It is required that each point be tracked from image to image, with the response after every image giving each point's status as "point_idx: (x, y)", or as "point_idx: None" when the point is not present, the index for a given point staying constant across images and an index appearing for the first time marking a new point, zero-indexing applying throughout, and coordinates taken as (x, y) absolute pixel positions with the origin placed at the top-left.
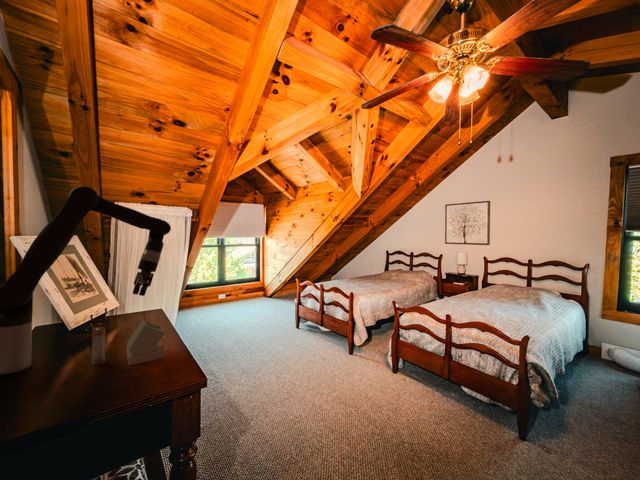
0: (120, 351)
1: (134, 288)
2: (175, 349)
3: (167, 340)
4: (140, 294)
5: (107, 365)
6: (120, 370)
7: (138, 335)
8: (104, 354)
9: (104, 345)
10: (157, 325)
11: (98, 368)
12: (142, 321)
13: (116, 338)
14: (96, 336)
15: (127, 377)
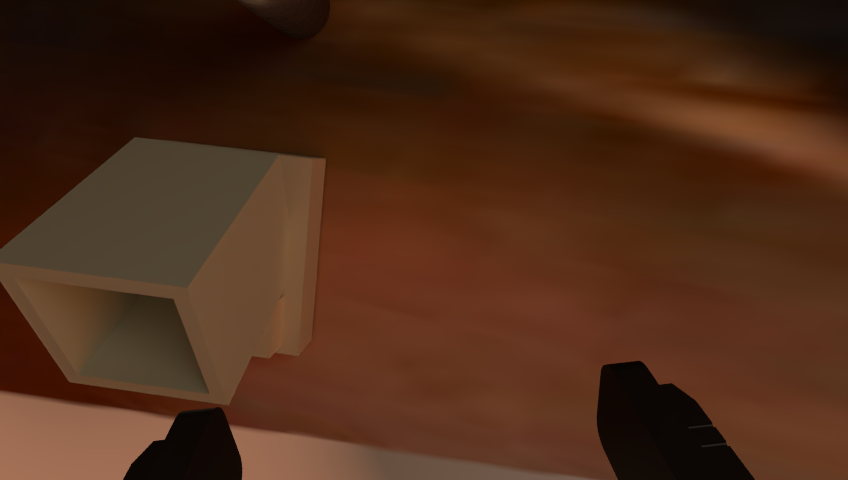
0: (417, 140)
1: (663, 456)
2: (256, 396)
3: (431, 407)
4: (184, 429)
5: (242, 48)
6: (136, 96)
7: (59, 202)
8: (270, 23)
9: (239, 2)
10: (204, 379)
11: (227, 2)
12: (149, 276)
13: (697, 158)
14: None
15: (36, 111)
